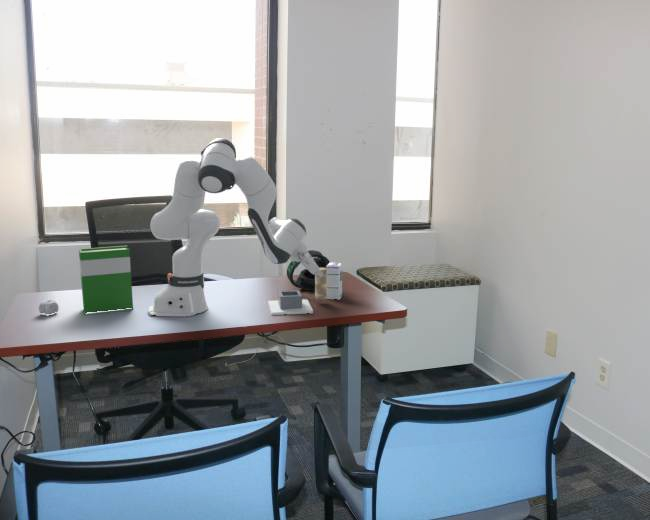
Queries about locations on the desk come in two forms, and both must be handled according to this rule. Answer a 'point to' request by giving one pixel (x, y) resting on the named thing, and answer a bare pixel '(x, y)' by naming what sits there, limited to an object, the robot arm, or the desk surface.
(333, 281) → the syrup box
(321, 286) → the peg
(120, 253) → the hardback book
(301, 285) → the headset
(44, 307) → the die
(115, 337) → the desk surface
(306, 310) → the socket
